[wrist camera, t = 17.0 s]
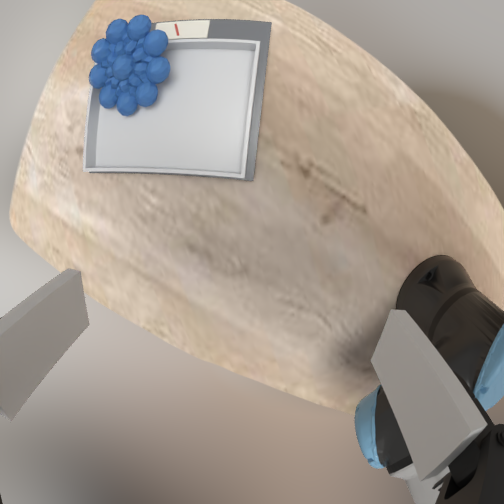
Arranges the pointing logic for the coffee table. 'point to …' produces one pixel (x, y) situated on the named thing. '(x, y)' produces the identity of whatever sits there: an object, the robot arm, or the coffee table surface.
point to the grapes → (129, 64)
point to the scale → (190, 107)
